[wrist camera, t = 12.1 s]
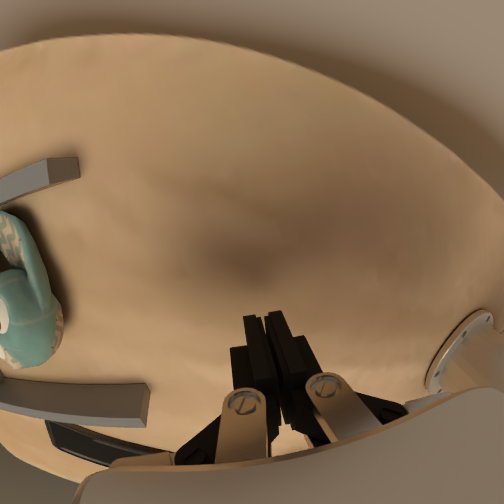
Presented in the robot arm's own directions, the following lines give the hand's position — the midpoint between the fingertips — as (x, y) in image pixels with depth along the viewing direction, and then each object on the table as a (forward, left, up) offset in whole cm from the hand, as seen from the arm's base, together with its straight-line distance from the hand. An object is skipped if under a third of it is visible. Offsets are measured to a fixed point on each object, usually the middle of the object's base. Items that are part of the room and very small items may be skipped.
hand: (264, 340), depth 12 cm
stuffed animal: (+17, -3, -6) cm, 18 cm away
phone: (+18, +18, -6) cm, 26 cm away
